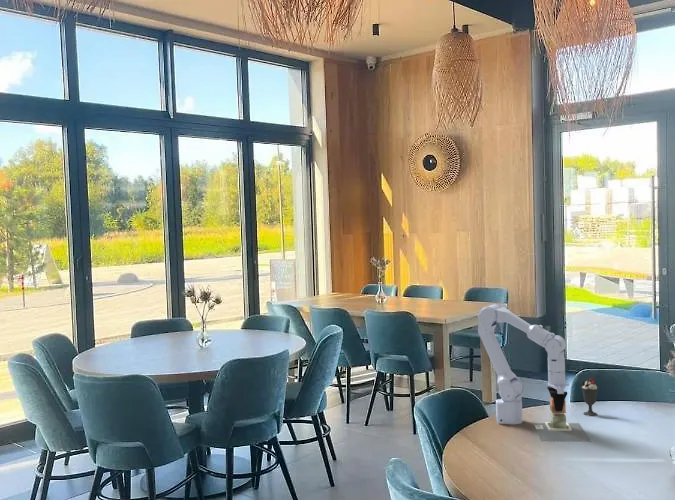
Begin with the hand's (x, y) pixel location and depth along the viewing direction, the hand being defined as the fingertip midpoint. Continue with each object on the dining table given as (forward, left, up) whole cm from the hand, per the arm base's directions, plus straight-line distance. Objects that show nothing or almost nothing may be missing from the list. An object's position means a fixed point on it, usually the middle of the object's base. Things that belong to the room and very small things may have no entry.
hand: (557, 409), depth 231 cm
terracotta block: (0, 0, -1) cm, 1 cm away
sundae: (+15, +19, -8) cm, 25 cm away
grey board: (0, -5, -7) cm, 9 cm away
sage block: (0, 0, -6) cm, 7 cm away
